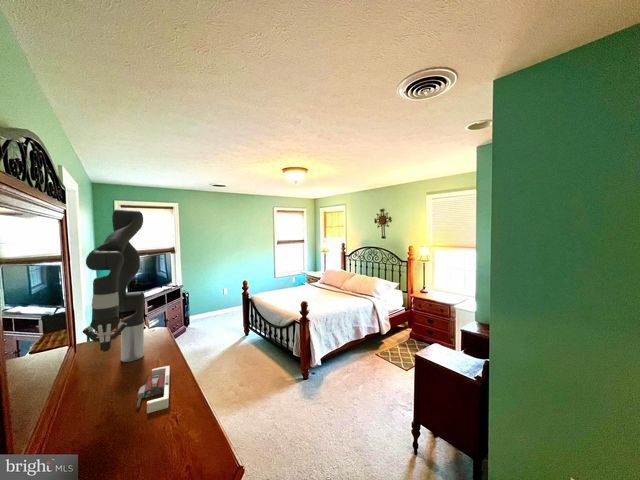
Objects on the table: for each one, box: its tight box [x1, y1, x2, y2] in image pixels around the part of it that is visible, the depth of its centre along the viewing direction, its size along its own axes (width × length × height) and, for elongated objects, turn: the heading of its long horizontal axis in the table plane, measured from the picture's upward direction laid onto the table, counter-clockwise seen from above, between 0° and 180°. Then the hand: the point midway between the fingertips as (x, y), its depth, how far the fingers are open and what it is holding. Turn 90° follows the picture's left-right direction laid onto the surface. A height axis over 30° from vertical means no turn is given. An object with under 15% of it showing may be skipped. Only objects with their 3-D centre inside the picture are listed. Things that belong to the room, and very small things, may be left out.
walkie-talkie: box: [136, 373, 165, 410], centre depth 100 cm, size 9×4×20 cm
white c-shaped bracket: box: [146, 365, 171, 414], centre depth 102 cm, size 26×6×4 cm, turn 30°
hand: (105, 350), depth 94 cm, fingers closed
